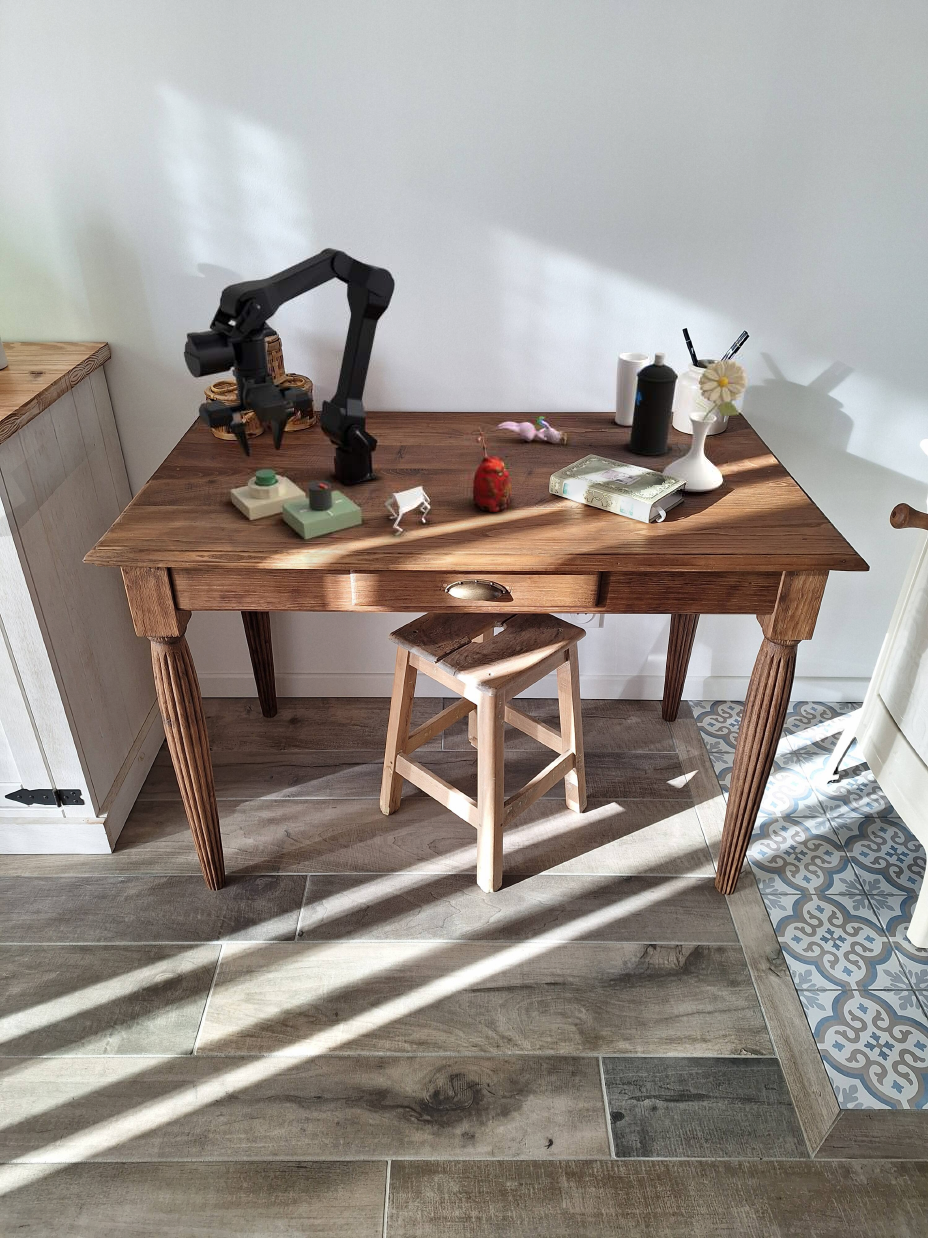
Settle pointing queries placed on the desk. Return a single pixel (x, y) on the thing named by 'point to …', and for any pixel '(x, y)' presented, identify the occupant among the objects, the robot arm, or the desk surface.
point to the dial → (320, 495)
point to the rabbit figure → (534, 431)
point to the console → (321, 516)
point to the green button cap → (265, 477)
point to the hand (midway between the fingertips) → (262, 452)
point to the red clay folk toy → (491, 483)
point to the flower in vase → (721, 388)
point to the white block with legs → (408, 503)
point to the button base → (265, 497)
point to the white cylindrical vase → (627, 385)
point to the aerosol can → (653, 408)
